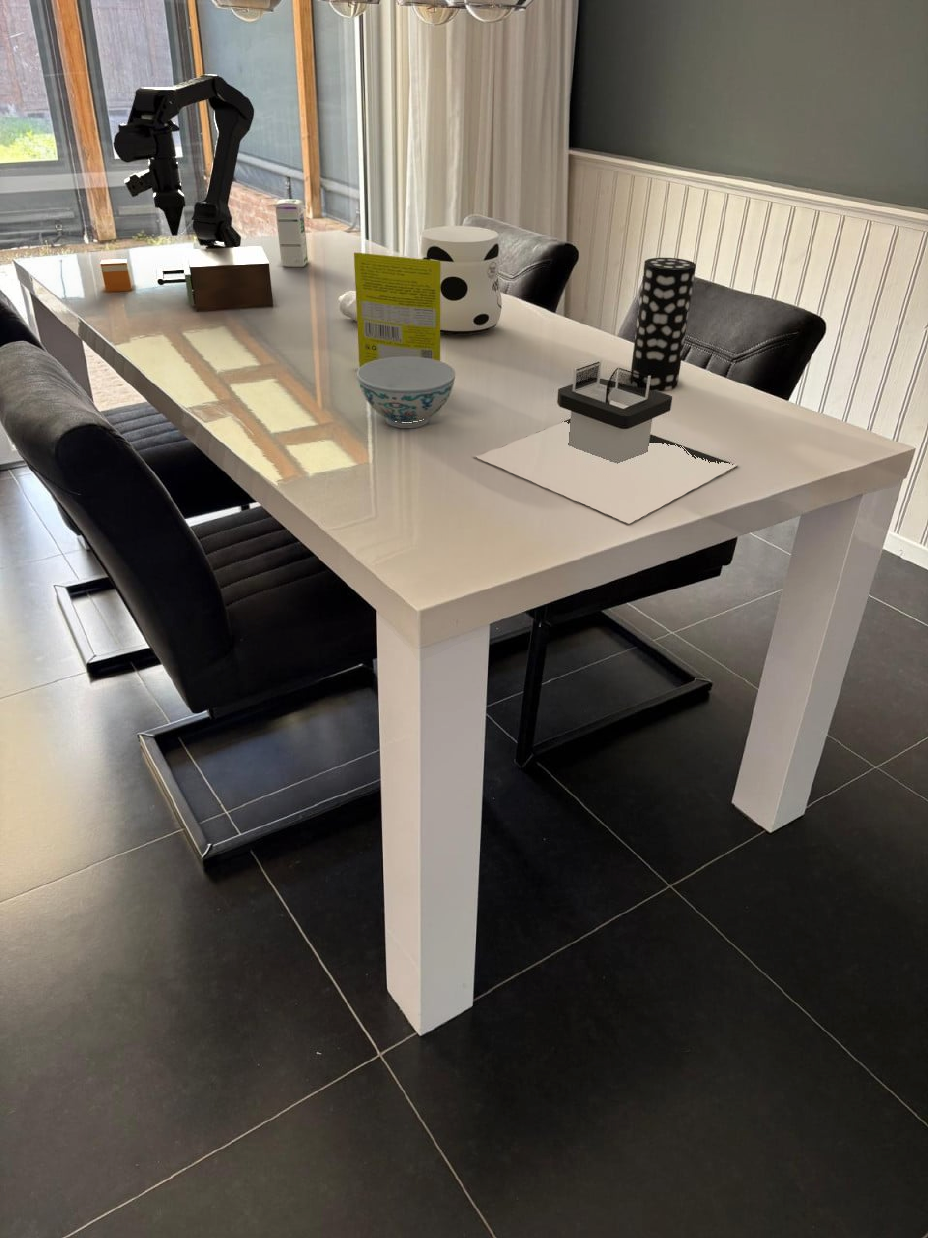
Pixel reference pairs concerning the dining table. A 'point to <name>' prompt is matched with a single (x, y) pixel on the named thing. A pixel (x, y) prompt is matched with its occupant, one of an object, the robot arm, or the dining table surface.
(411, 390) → the chinaware
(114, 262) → the snack box
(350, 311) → the roll
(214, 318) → the dining table surface
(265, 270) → the organizer
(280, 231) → the syrup box
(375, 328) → the food package
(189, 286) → the drawer
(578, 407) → the black-topped pedestal
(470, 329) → the milk container
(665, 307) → the white-spotted black cylinder
